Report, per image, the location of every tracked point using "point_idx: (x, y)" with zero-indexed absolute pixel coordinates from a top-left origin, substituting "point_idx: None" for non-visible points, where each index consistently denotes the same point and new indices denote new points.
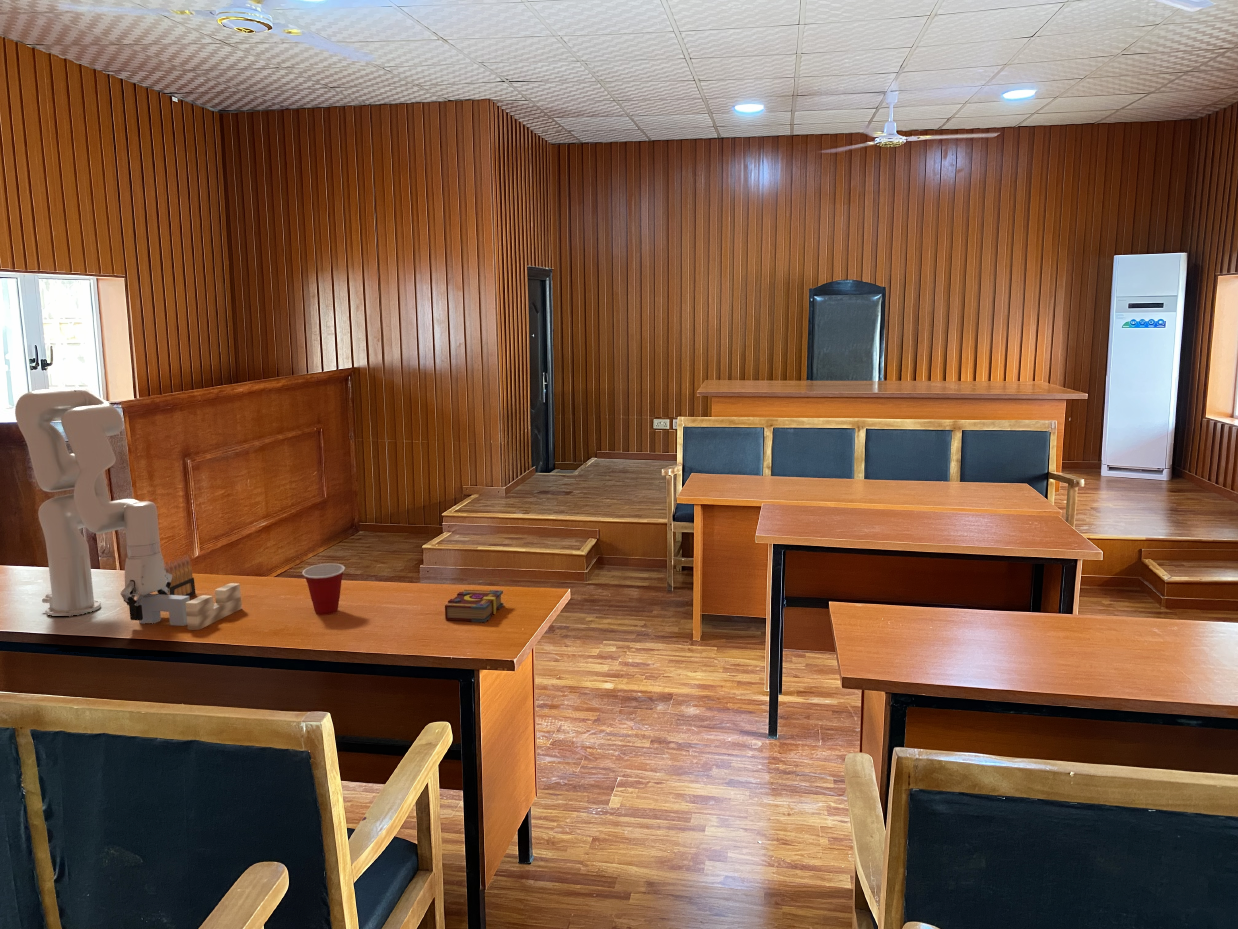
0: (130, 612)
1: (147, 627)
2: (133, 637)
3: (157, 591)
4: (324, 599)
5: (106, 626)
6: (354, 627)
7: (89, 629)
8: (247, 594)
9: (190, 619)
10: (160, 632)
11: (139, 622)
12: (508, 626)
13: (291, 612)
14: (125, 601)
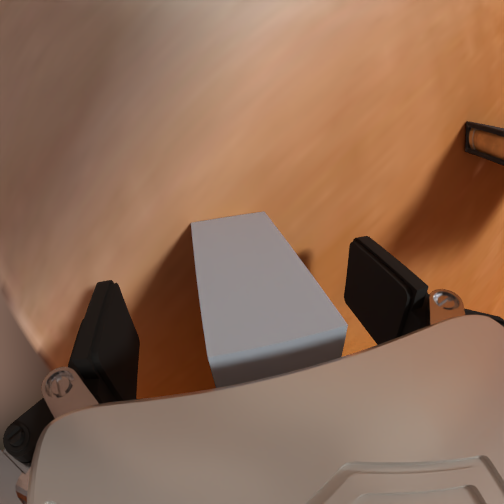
0: (75, 341)
1: (154, 319)
2: (50, 358)
3: (426, 321)
4: None
5: (76, 77)
6: None
7: (15, 45)
8: (498, 299)
9: None
10: (139, 396)
11: (191, 226)
12: None
13: None
14: (18, 429)
